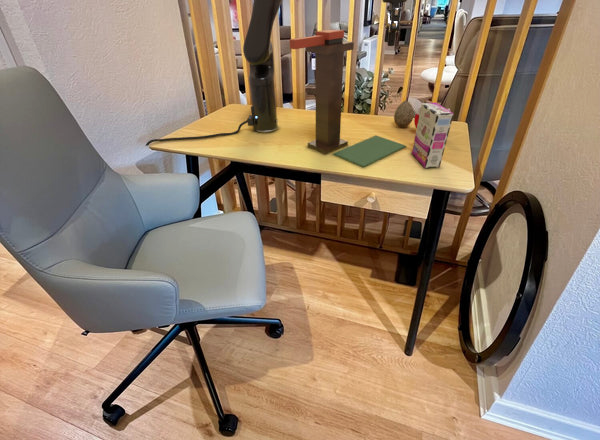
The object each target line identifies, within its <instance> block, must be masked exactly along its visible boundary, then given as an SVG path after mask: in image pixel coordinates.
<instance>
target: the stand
mask: <svg viewBox="0 0 600 440" xmlns="http://www.w3.org/2000/svg"><path fill="white" fill-rule="evenodd" d="M354 45H355V44H354V41H349V40H343V42H342V43H336V44H330V45H327V44H324V45H318V46H312V47H306V48H305V52H306V53H312V54H314V60H315V61H314V65H315V66H314V69H315V70H314V71H315V73H314V76H315V80H314V81H315V82H314V83H315V85H314V87H315V91H314V93H315V94H314V95H315V96H314V97H315V98H314V99H315V139H314V140H312V141H309V142H307V148H309V149H312V150H314V151H316V152H318V153H321V154H323V155H324V156H325V155H328V154H330V153H333V152H336V151H339V150H341V149H343V148H346V147H348V145H349V140H345V139H343V138H341V124H342V103H343V102H342V100H343V75H344V55H345V52H348V51H353V50H354V48H355V47H354Z"/></svg>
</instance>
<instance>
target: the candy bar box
mask: <svg viewBox="0 0 600 440" xmlns="http://www.w3.org/2000/svg"><path fill="white" fill-rule="evenodd" d="M420 106H421V110H420V115H419V119H418V125H417V129H416V131H415V135H414V140H413V146H412V150H411V155H412V156H413V157H414V158H415V159H416V161H418V163H420V164H421V166H422V167H423V168H424V169H439V168H440V167H441V163H442V160H443V156H444V152H445V149H446V145H447V141H448V138H449V133H450V130H451V126H452V124H453V123H452V122H453V118H454V114H455V113H454V112H452V111H451V110H450V111H449V110H447V109H448V108H446V107H444V105H443V106H442V105H441V104H439V103H438V102H423V103H421V104H420Z"/></svg>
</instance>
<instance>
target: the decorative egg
mask: <svg viewBox="0 0 600 440" xmlns="http://www.w3.org/2000/svg"><path fill="white" fill-rule="evenodd" d="M414 118H415V111H414V107H413V106H412V104H411V103H410V102H409V100H403V101H402V102H401V103H400V104H399V105H398V106H397V107H396V109H395V111H394V115H393V119H394V124H395V125H396V126H398V128H399V127H400V128H406V127H408V126H409V125H411V123H413V121H414Z"/></svg>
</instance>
